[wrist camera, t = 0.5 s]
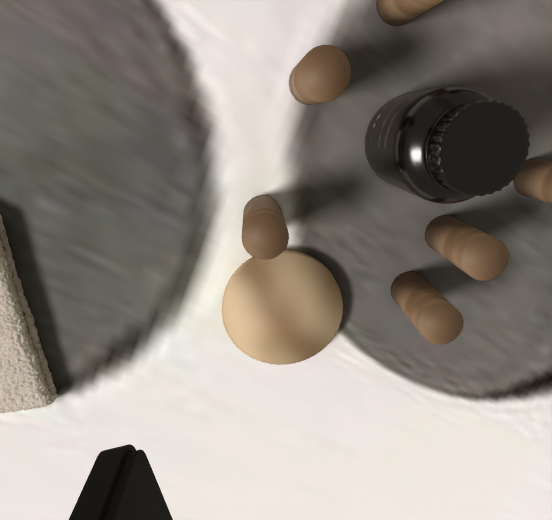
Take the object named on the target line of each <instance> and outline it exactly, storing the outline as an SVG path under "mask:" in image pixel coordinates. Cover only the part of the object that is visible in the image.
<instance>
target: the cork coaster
mask: <svg viewBox="0 0 552 520" xmlns="http://www.w3.org/2000/svg"><path fill="white" fill-rule="evenodd" d="M342 314H343V301H342V295H341V292H340V289H339V286H338V284H337V282H336V280H335V279H334V277H333V275H332V274H331V272H330V271H329V270H328V269H327V268H326V267H325V266H324V265H323V264H322V263H321V262H320V261H318V260H317V259H315V258H314V257H312V256H310V255H308V254H305V253H302V252H298V251H294V250H284V251H283V252H282V253H281V254H280V255H279V256H277V257H275V258H273V259H269V260H262V259H257V258H255V257H253V258H251V259H249V260H247V261H246V262H245V263H243V264H242V265H241V266H240V267H239V268H238V269H237V270H236V271H235V273H234V274H233V275H232V277H231V278H230V280H229V282H228V284H227V286H226V289H225V292H224V296H223V302H222V318H223V323H224V326H225V329H226V332H227V334H228V336H229V337H230V339H231V340H232V342H233V343H234V344H235V345H236V346H237V347H238V348H239V349H240V350H241V351H242V352H243V353H245V354H246V355H248V356H250V357H252V358H254V359H256V360H258V361H261V362H265V363H269V364H278V365H279V364H292V363H296V362H300V361H303V360H306V359H308V358H310V357H312V356H314V355H316V354H317V353H318V352H320V351H321V350H322V349H324V348H325V347H326V346H327V345H328V344H329V342H330V341H331V340H332V339H333V337H334V336H335V334H336V332H337V330H338V328H339V326H340V323H341V319H342Z"/></svg>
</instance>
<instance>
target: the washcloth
mask: <svg viewBox="0 0 552 520" xmlns="http://www.w3.org/2000/svg"><path fill="white" fill-rule="evenodd" d="M39 340H40V338H39V337H38V330H37V328H36V327H35V325H34V317H33V315H32V314H31V310H30V308H29V307H28V302H27V300H26V298H25V296H24V295H23V289H22V285H21V280H20V279H19V278H18V275H17V271H16V268H15V261H14V260H13V258H12V252H11V248H10V246H9V242H8V238H7V236H6V230H5V227H4V225H3V218H2V216H1V214H0V413H5V412H15V411H19V410H27V409H32V408H41V407H45V406H47V405H49V404H51V403H53V402H54V401H55V399H56V397H58V394H56V387H55V385H54V384H53V379H52V376H51V374H52V373H51V372H50V371H49V368H48V362H47V360H46V358H45V355H44V352H43V350H42V347H41V342H40V341H39Z"/></svg>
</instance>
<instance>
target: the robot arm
mask: <svg viewBox="0 0 552 520" xmlns="http://www.w3.org/2000/svg"><path fill="white" fill-rule="evenodd" d="M69 520H173V519H172V517H171V514H170V512H169V510H168V507H167V505H166V502H165V500H164V497H163V495H162V493H161V490H160V488H159V485H158V483H157V481H156V478H155V476H154V473H153V471H152V468H151V466H150V464H149V461H148V459H147V456H146V454H145V452H144V451H143V450H137V451H136V449H135V447H133V446H132V445H125V446H121V447H117V448H113V449H108V450H104V451H102V452H100V454H99V455H98V457H97V459H96V461H95V463H94V465H93V468H92V470H91V472H90V474H89V476H88V479H87V481H86V483H85V485H84V487H83V490H82V492H81V494H80V496H79V498H78V501H77V503H76V505H75V507H74V509H73V512H72V514H71V516H70V518H69Z"/></svg>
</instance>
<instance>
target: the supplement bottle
mask: <svg viewBox="0 0 552 520" xmlns="http://www.w3.org/2000/svg"><path fill="white" fill-rule="evenodd" d="M529 145H530V143H529V133H528V132H527V125H526V124H525V123H524V118H523V117H521V116H520V114H519V112H518V111H516V110H514V109H513V108H512V107H511V106H508V105H506V104H504V103H503V102H498V101H497V100H496V99H495V98H494V97H493V96H491V95H490V94H489V93H487V92H485V91H483V90H482V89H479V88H477V87H473V86H468V85H449V86H444V87H439V88H434V89H429V90H424V91H419V92H414V93H409V94H405V95H402V96H399V97H396V98H394V99H392V100H390V101H389V102H387V103H386V104H384V105H383V106H382V107H381V108H380V109H379V110H378V111H377V112H376V114H375V115H374V116H373V118H372V120H371V122H370V124H369V126H368V129H367V132H366V137H365V152H366V157H367V160H368V162H369V165H370V166H371V168H372V170H373V171H374V172H375V173H376V175H378V176H379V177H380V178H381V179H382V180H384V181H385V182H387V183H389V184H391V185H393V186H395V187H397V188H400V189H402V190H404V191H407V192H409V193H411V194H413V195H416V196H418V197H420V198H423V199H425V200H428V201H431V202H436V203H442V204H450V203H457V202H462V201H465V200H468V199H470V198H472V197H475V196H477V195H479V196H484V195H486V194H492V193H494V192H495V191H500V190H501V189H502V188H503V187H505V186H508V185H509V183H510V182H511V181H512V180H514V179H515V178H516V176H517V174H518V173H520V172H521V169H522V166H523V165H524V164H525V162H526V157H527V156H528V148H529Z"/></svg>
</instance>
